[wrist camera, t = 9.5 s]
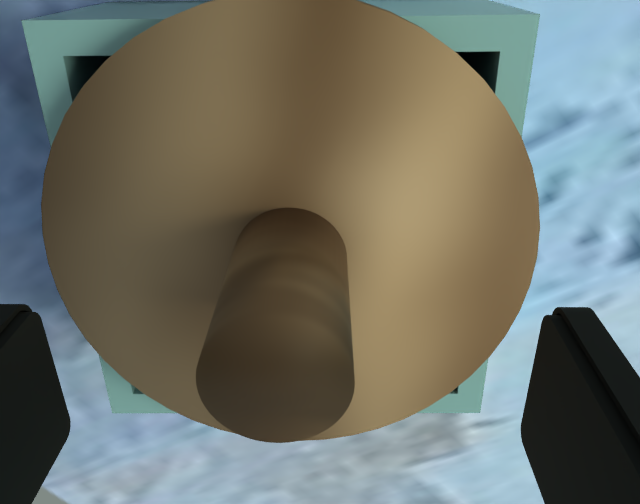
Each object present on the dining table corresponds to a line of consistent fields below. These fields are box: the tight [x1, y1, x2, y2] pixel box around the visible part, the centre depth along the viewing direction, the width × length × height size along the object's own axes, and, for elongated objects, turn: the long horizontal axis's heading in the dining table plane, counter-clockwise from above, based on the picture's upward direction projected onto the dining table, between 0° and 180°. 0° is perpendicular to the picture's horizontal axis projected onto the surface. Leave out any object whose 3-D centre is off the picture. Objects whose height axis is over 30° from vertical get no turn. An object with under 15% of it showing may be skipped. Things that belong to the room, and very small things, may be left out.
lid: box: [41, 0, 540, 443], centre depth 13 cm, size 13×13×6 cm
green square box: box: [21, 0, 540, 413], centre depth 19 cm, size 12×12×6 cm
